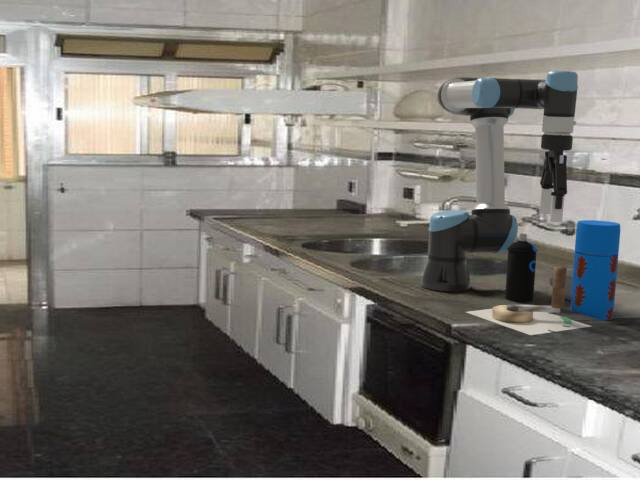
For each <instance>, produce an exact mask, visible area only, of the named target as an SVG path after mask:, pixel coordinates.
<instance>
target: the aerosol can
mask: <svg viewBox="0 0 640 480" xmlns="http://www.w3.org/2000/svg"><path fill="white" fill-rule="evenodd" d="M527 236H528V234H527V233H523V232H522V233H519V239H518V240H517V241H515V243H512V244H511V245H510V246H509V247H508V248H507V249H508V251H507V263H506V264H507V265H506V276H505V277H506V278H505V279H506V281H505V296H504V299H505V300H507V301H510V302H515V303H531V302H533V301H534V296H535V295H534V294H535V281H536V264H537V252H538V248H536V246H535V245H534V244H532V243H531V242H529V241H527Z"/></svg>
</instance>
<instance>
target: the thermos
mask: <svg viewBox="0 0 640 480" xmlns="http://www.w3.org/2000/svg"><path fill="white" fill-rule="evenodd" d="M620 238H621V223H619V222H615V221H614V222H613V221H607V220H593V219H591V220H589V219H587V220H586V219H585V220H578V221H577V224H576V231H575V241H574V242H575V244H574V256H573V268H572V269H573V281H572V295H571V300H570V312H572V313H575V314H579V315H582V316H586V317H589V318H592V319H595V320H600V321H603V322H604V321H611V320H612V319H613V317H614V316H613V315H614V308H615V300H616V299H615V298H616V287H617V278H618V277H617V275H618V265H619V263H618V261H619V252H620V250H619V249H620V242H621V240H620Z"/></svg>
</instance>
